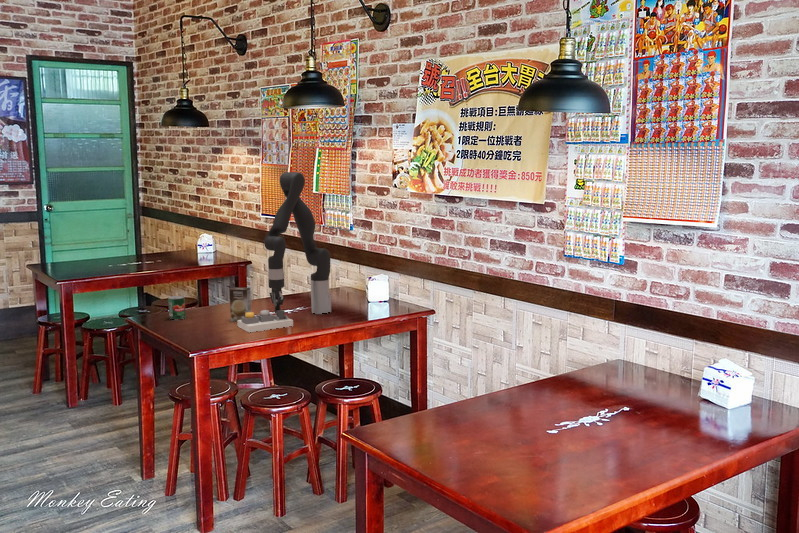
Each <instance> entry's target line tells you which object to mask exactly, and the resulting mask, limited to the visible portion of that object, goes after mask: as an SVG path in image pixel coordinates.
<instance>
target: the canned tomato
mask: <svg viewBox="0 0 799 533" xmlns="http://www.w3.org/2000/svg"><path fill="white" fill-rule="evenodd" d="M167 299H168V300H167V302H168V315H169V318H170V319H175V320H174V321H179V320H178V319H183V320H185V319H186V318H187V316H186V315H187V314H186V300H185V296H184V295H171V296H168V298H167ZM184 318H185V319H184ZM170 319H169V320H170ZM176 319H177V320H176Z"/></svg>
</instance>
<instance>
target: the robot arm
mask: <svg viewBox="0 0 799 533" xmlns="http://www.w3.org/2000/svg"><path fill="white" fill-rule="evenodd" d="M305 184H306V178H305V176H304V174H303V173H301V172H299V171H298V172H297V171H295V172H294V171H289V172H288V171H287V172H286V171H285V172H283V173H282V174H280V177H279V185H280V188H281V190H282V192H283V194H284V196H285V198H286V199H285V200H284V201H283V203H282V204H281V205H280V206H279V208H278V210H277V211H276V213H275V216H274V219H273V222H272V226H271V227H270V228H269V231H268V232H267V234H266V236H265V238H264V242H263V245H264V248H265V249H266V250H267V251H271V252H273V255H270V256H269V257H268V259H267V263H268V264H267V265H268V266H267V268H268V270H267V272H268V273H267V276H268V278H267V280H268V282H267V283H268V288H269V289H271V292H269V297H270V300H271V303H272V304H273V307H274V313H275V314H276V310H281V306H282V305H283V304H284V300H285V295H283V290H282V289H283V288H285V271H284V257H285V253H286V248H287V243H286V240H285V238H284V237H283V236H280V235H281V234H284V233H286V232H287V230H288V227H289V223H290V220H291V217H292V216H293V220H294V223H295V225H296V227H297V230H298V232H299V236H300V239H301V242H302V245H303V250H304V253H305V258H306V261H307V263H308V264H309V265H310V266H312V267H313V266H314V267H316V271H315V272H313V273H311V274H310V297H311V298H310V299H311V301H310V302H311V313H312V314H313V313H315V314H314V315H323V314H322V313H327V314H329V313H328V312H330V313H332V295H331V293H330V273H331V253H330V252H329V250H328V249H327V248H319V247H317V243H316V242H315V238H314V237H315V231H316V221H315V217H314V215H313V212H312V210H311V209H310V207H309V206H308V205H307V204H306V203H305V202H304V201H303V199H302V198H301V197H300V196H301V194H302V192H303V190H304V187H305Z"/></svg>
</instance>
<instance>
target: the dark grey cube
mask: <svg viewBox="0 0 799 533" xmlns="http://www.w3.org/2000/svg"><path fill="white" fill-rule="evenodd" d="M285 312H286V311H285V310H284V309H280V310H276V313H275V315H276V316H277V317H279V320H280V319H285V315H286V314H285Z"/></svg>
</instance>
